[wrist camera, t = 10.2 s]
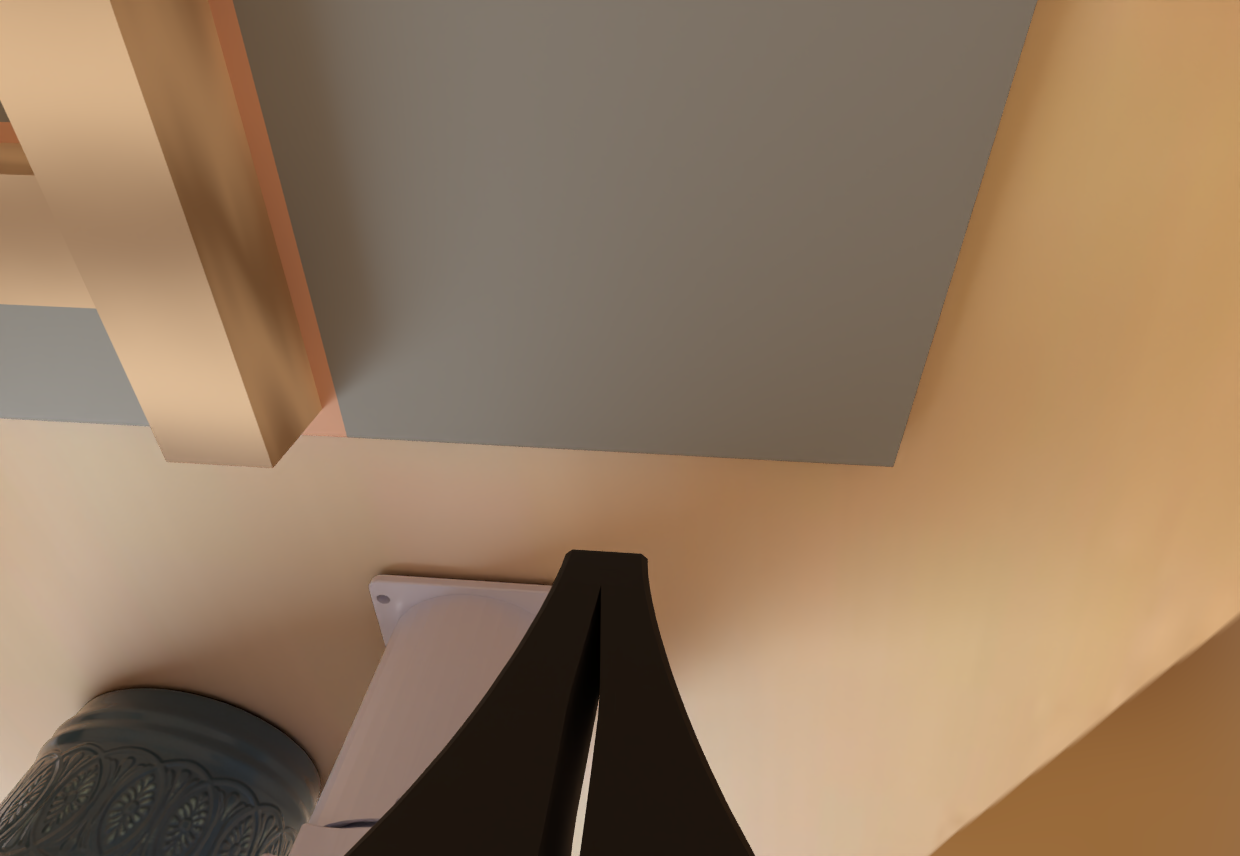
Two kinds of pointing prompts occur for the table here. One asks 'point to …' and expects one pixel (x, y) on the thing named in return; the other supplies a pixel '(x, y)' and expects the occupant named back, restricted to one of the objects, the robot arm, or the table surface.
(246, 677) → the table surface
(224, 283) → the t block
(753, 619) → the table surface
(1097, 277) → the table surface
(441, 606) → the robot arm
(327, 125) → the slate board
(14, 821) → the canister
